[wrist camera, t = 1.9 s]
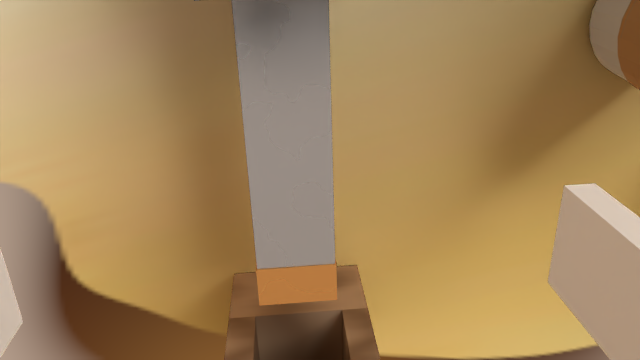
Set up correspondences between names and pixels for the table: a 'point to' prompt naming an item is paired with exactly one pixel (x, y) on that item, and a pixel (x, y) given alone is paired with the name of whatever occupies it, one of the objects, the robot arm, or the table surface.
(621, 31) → the coffee cup
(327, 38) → the orange-tipped grey stick
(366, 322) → the socket
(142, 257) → the table surface
